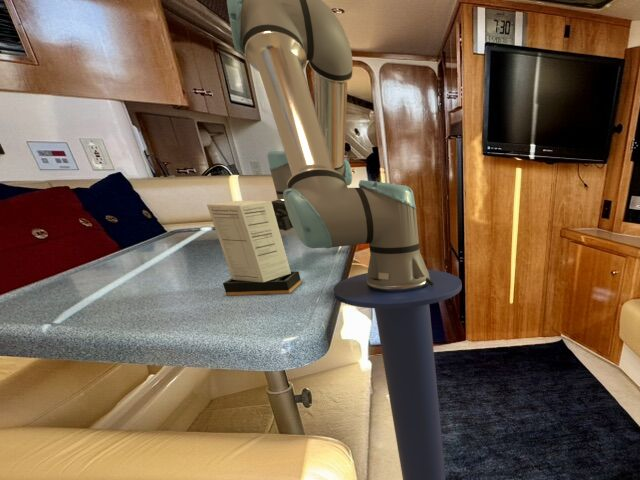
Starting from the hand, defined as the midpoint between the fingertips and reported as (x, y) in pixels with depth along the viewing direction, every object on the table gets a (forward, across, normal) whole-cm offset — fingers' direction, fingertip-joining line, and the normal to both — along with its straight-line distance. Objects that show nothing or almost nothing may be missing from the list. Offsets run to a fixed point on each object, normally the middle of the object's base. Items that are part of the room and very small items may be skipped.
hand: (253, 225), depth 95 cm
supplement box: (+3, 0, -12) cm, 12 cm away
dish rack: (+3, 0, -15) cm, 15 cm away
